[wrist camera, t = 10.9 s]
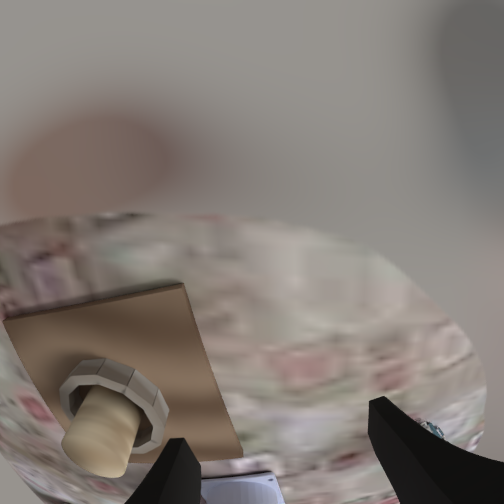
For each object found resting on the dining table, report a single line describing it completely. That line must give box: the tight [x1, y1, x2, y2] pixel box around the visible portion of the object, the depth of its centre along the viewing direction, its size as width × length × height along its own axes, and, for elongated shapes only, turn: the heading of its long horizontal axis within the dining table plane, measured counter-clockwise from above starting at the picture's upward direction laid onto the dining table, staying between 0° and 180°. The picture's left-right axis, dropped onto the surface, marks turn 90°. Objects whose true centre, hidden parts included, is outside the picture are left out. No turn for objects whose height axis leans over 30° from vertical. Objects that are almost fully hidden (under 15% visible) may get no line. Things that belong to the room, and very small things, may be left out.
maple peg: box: [61, 384, 144, 478], centre depth 17 cm, size 4×4×6 cm
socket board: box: [2, 283, 243, 463], centre depth 19 cm, size 16×16×3 cm
